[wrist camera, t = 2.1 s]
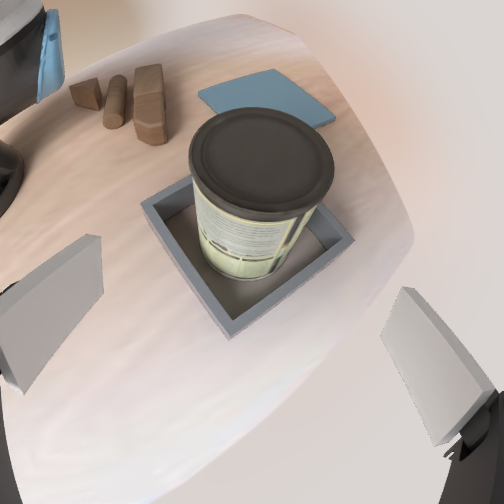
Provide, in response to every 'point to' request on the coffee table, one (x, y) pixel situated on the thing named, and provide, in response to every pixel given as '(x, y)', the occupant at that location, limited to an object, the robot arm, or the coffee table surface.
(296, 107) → the board
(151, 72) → the wooden block set
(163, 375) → the coffee table surface
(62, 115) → the coffee table surface
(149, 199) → the bin
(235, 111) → the coffee can
